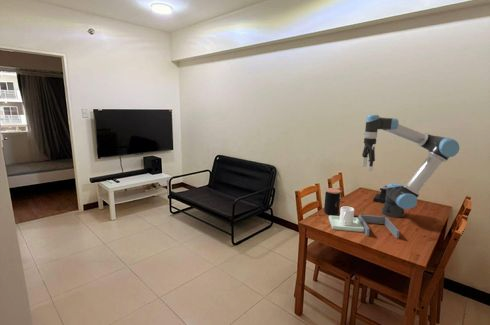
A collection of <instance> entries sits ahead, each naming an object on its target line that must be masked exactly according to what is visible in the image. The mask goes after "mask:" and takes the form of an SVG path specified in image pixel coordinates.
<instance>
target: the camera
mask: <svg viewBox="0 0 490 325" xmlns="http://www.w3.org/2000/svg"><path fill="white" fill-rule="evenodd" d="M379 191H380V193H377V194H376V195H375V196H374V197H373V202H374V203H378V202H379V204H383V205H384V203H385V200H386V191H387V185H381V186H380V187H379Z"/></svg>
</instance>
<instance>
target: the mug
mask: <svg viewBox="0 0 490 325" xmlns="http://www.w3.org/2000/svg"><path fill="white" fill-rule="evenodd" d="M339 216H340V220H339V222H340V223H341V224H342V225H345V226H351V225H352V224H353V218H354V216H355V208H354V207H351V206H348V205H347V206H346V205H344V206H341V207H340V208H339Z"/></svg>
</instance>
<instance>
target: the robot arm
mask: <svg viewBox="0 0 490 325" xmlns="http://www.w3.org/2000/svg"><path fill="white" fill-rule="evenodd" d="M379 130H383V131H385V132H388V133H389V134H393V135H395V136H398V137H401V138H403V139H406V140H408V141H410V142H413V143H415V144H417V145H418V146H419V147H421V148H423V149H425V150H427V151H428V152H427V154H428V155H427V157H426V158H425V159H424V161H423V162H422V163H421V164H420V166H419V167H418V169H416V171H415V173H414V174H413V175H412V177H410V179H409V180H408V182H407V183H406V184H401V183H388V184H387V185H386V186H387V191H386V200H385V203H384V204H383V206H382V207H381V213H382V215H383V214H384V215H385V216H387V217H392V218H403V217H404V216H405V210H410V209H413V208H415V207H416V206H417V204H418V197H419V196H420V191H421V189H423V187H425V186H424V185H425V184H426V183H427V182H428V180H430V179H431V177H432V175H433V174H434V173H435V171H437V169H438V168H439V166H440V165H441V164H442V163H443V162H447V161H448V160H449V158H452V157H455V156H457V154H458V153H459V151H460V144H459V142H458V141H457V140H455V139H454V138H450V137H445V136H438V135H432V134H429V133H428V132H427V133H423V132H419V131H417V130H414V129H412V128H410V127H407V126H405V125H402V124H400V123H399V119H398V118H393V117H391V118H390V117H381V116H380V115H378V114H368V115H366V118H365V129H364V133H363V135H364V139H363V143H364V148H363V150H362V154H361V156H362V162H361V167H367V171H369V172H372V171H373V168H374V162H375V160H376V155H375V154H376V153H375V152H376V151H375V149H376V148H375V146H374V145H376V144H377V138H378V131H379ZM367 162H368V164H367Z"/></svg>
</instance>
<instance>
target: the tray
mask: <svg viewBox="0 0 490 325" xmlns="http://www.w3.org/2000/svg"><path fill="white" fill-rule="evenodd" d="M328 220H329V223H330V227H331V228H332V230H337V231H345V232H346V231H347V232H356V233H358V232H359V233H365V232H364V227H363V226H362V224H361V223H360V221H359V220H358V217H354V218H353V224H352V225H351V226H345V225H342V224H341V223H340V222H339V220H340V215H328Z"/></svg>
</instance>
